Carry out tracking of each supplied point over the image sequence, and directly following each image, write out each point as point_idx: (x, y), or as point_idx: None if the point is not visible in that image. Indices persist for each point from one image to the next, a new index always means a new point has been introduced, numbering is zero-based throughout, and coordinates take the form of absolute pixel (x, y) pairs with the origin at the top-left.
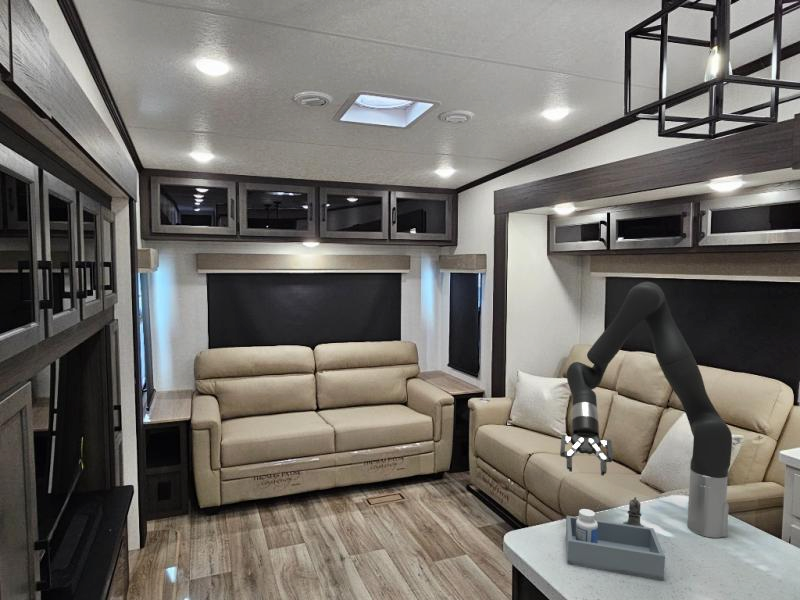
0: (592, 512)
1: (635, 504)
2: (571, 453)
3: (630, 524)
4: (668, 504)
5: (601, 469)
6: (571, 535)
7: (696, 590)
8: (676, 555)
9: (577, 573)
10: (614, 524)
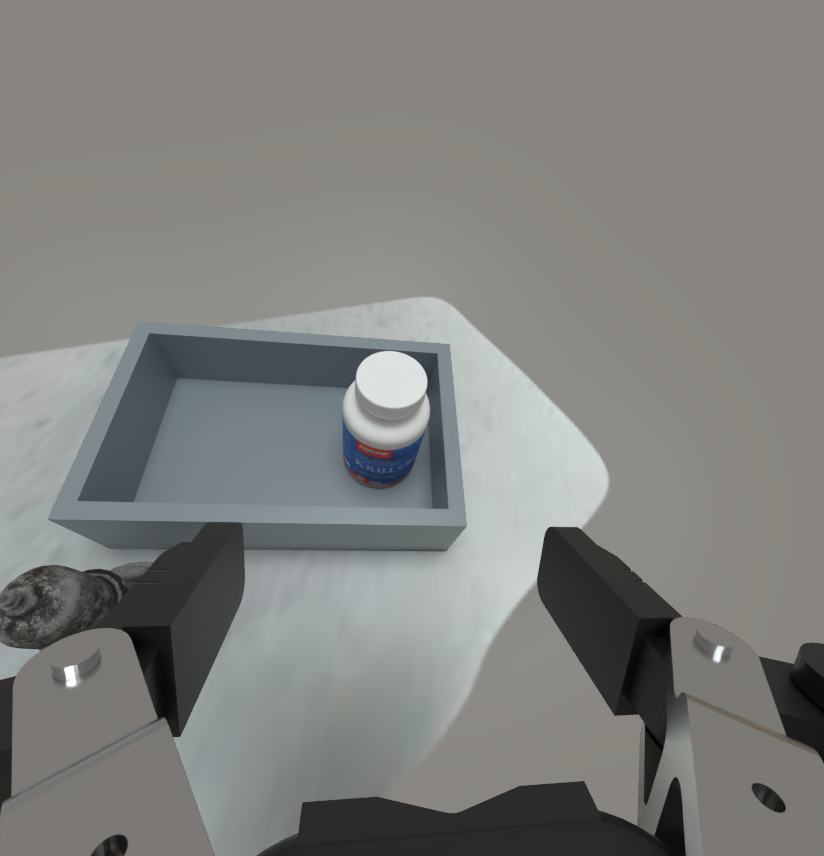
0: (367, 381)
1: (50, 566)
2: (687, 658)
3: None
4: None
5: (228, 553)
6: (440, 374)
7: (93, 354)
8: (16, 537)
9: None
10: (249, 505)
